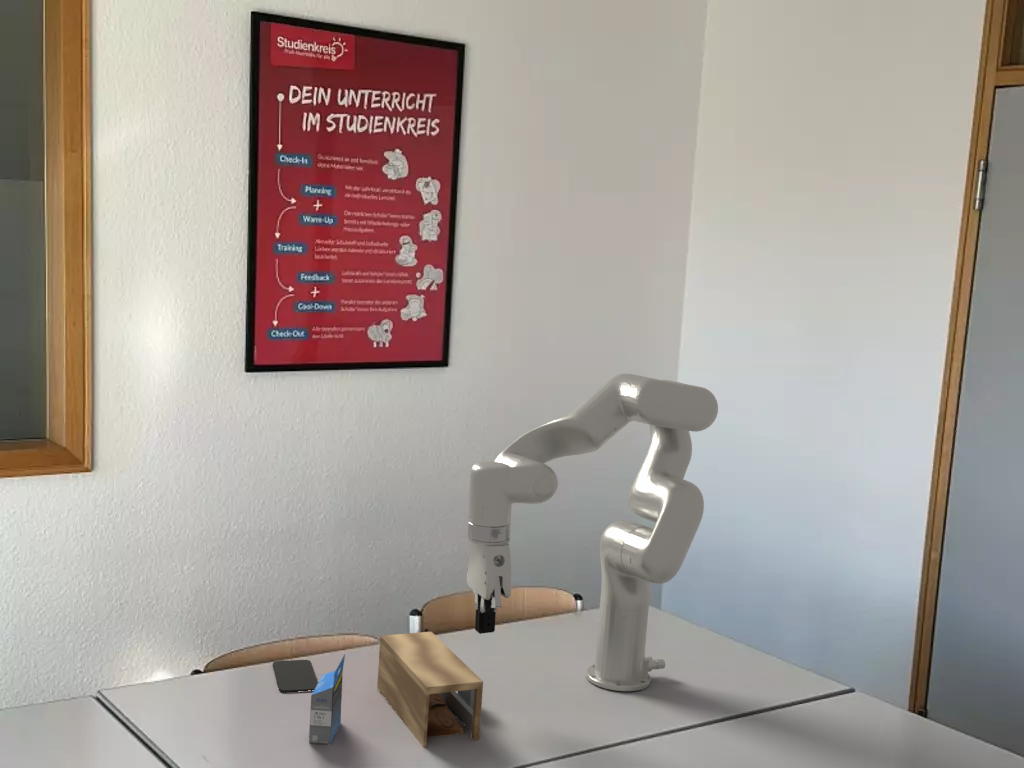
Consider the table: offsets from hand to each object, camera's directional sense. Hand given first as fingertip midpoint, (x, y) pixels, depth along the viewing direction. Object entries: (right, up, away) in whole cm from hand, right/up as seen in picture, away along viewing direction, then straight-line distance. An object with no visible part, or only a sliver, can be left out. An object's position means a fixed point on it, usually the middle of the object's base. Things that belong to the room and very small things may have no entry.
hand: (484, 631), depth 200 cm
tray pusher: (-4, -14, 0) cm, 14 cm away
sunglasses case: (-10, -15, -3) cm, 18 cm away
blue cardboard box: (-26, -14, -13) cm, 33 cm away
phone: (-36, -11, +10) cm, 39 cm away
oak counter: (-10, -14, -3) cm, 18 cm away
